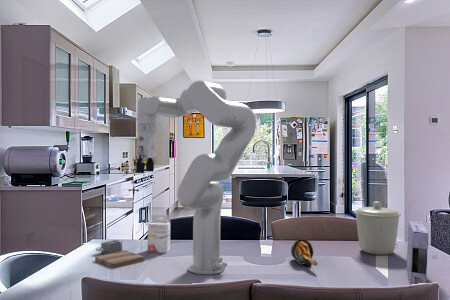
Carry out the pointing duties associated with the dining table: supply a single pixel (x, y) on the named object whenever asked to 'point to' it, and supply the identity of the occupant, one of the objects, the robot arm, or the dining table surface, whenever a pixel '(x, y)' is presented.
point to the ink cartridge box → (159, 234)
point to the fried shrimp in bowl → (303, 252)
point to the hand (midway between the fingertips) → (145, 172)
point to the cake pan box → (417, 252)
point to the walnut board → (119, 259)
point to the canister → (377, 229)
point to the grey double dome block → (110, 247)
